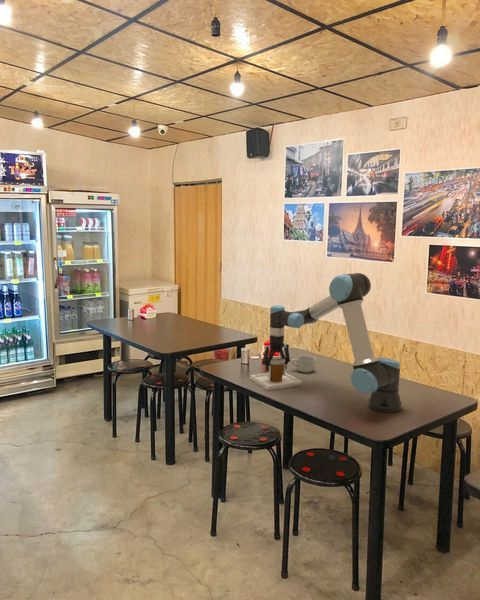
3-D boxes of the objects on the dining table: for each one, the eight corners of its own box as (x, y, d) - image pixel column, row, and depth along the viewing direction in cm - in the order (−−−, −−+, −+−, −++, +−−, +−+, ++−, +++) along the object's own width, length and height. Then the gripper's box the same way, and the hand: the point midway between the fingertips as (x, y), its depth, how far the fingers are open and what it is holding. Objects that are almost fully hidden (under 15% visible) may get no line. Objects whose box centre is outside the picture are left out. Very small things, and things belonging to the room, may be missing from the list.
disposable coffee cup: (263, 378, 274) (264, 357, 272) (279, 376, 278) (279, 355, 276) (272, 384, 265) (272, 361, 263) (288, 381, 269) (288, 359, 267)
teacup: (314, 369, 298) (315, 355, 296) (315, 374, 287) (316, 360, 286) (290, 368, 299) (291, 354, 298) (290, 373, 288) (291, 359, 287)
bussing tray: (301, 385, 267) (301, 381, 267) (268, 390, 258) (268, 386, 258) (282, 375, 285) (282, 370, 284) (250, 379, 276) (250, 375, 276)
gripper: (290, 331, 275) (289, 371, 279) (255, 335, 266) (255, 376, 270) (297, 334, 269) (296, 375, 272) (262, 338, 260) (261, 380, 263)
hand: (276, 376), depth 271 cm, fingers closed on disposable coffee cup, 8 cm apart
